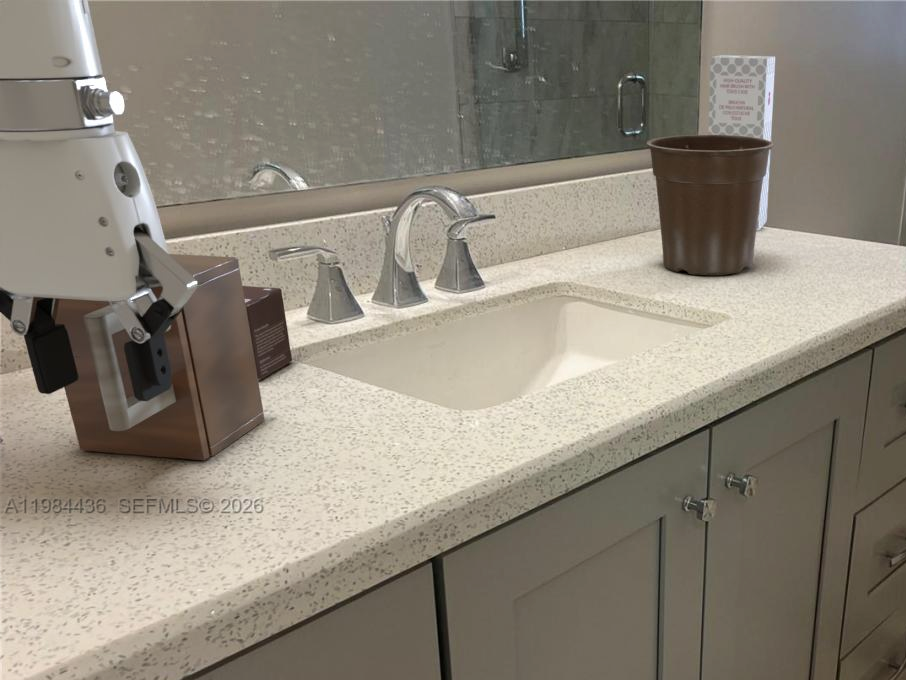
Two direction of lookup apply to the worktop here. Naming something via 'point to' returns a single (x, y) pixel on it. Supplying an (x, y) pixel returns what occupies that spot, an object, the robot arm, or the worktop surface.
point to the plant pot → (709, 200)
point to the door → (128, 388)
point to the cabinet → (221, 350)
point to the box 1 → (267, 328)
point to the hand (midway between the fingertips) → (106, 388)
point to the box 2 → (743, 104)
